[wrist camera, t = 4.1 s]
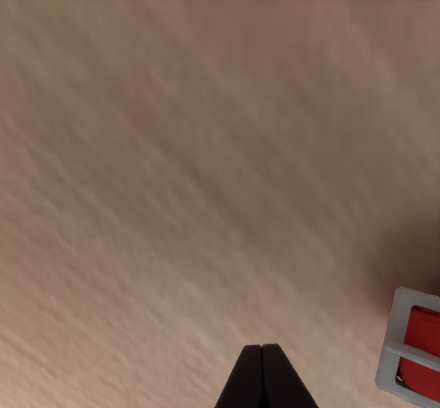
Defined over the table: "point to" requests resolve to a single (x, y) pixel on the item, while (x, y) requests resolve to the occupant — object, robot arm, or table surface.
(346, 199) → the table surface
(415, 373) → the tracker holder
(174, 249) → the table surface
